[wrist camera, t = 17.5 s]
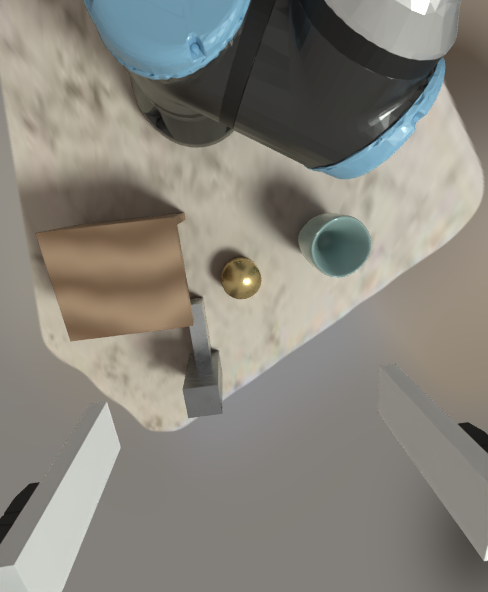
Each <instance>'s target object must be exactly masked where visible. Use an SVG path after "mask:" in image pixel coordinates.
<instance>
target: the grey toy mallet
mask: <svg viewBox="0 0 488 592" xmlns="http://www.w3.org/2000/svg"><path fill="white" fill-rule="evenodd" d="M190 302H191V308H192V313H193V319H194V323H193V326H189V328H190V333H191V339H192V345H193V350H194V354H190V357H189V361H188V366H187V371H186V376H185V381H184V385H183V394H184V399H185V404H186V409H187V414H188V418H193V417H200V416H207V415H215V414H222V369H221V363H220V356H219V351H211V345H210V339H209V332H208V326H207V320H206V313H205V307H204V301H203V297H202V298H194V299H190Z"/></svg>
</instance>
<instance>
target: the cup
mask: <svg viewBox="0 0 488 592" xmlns="http://www.w3.org/2000/svg"><path fill="white" fill-rule="evenodd" d="M298 244H299V248H300V250H301V253H302V254H303V256H304V257H305V259H306V260H307V261H308V262H309V263H310V264H311V265H312V266H314V267H315V268H316V269H317V270H319V271H320V272H322V273H323V274H325V275H327V276H330V277H335V278H340V277H345V276H348V275H350V274H352V273H354V272H355V271H357V270H358V269H359V268H360V267H361V266H362V265H363V264H364V263H365V261H366V260H367V258H368V256H369V254H370V251H371V237H370V234H369V232H368V230H367V228H366V227H365V226H364V225H363V224H362V222H360V221H359V220H358V219H356V218H354V217H352V216H349V215H343V214H337V213H325V214H320V215H317V216H315V217H313V218H312V219H310V220H309V221H308V222H307V223H306V224H305V225H304V226H303V228H302V229H301V231H300V233H299V237H298Z"/></svg>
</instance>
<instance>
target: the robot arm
mask: <svg viewBox="0 0 488 592" xmlns="http://www.w3.org/2000/svg"><path fill="white" fill-rule="evenodd" d="M83 1H84V3H85V6H86V8H87V10H88V13H89V15H90V17H91V19H92V21H93V22H94V24H95V26H96V27H97V29H98V32H99V35H100V37H101V39H102V41H103V43H104V44H105V46H106V48H107V49H108V50H109V51H110V52H111V54H112V55H113V56H114V57H116V58H117V60H118V62H119V63H121V64H122V65H123V66H124V68H125V69H126V70H127V71H128V73H129V74H130V77H131V84H132V88H133V92H134V95H135V98H136V100H137V103H138V105H139V107H140V109H141V111H142V112H143V114H144V115H145V117H146V118H147V120H148V121H149V122H150V123H151V124H152V125H153V126H154V128H155V129H156V130H158V131H159V132H160V133H161V134H162V135H163V136H165V137H166V138H168V139H169V140H171V141H173V142H175V143H177V144H180V145H183V146H188V147H206V146H210V145H213V144H216V143H218V142H220V141H222V140H223V139H225V138H226V137H228V136H229V135H230V134H231V133H232V132H233V131H236V132H238V133H240V134H242V135H245V136H247V137H249V138H251V139H253V140H255V141H257V142H259V143H261V144H263V145H265V146H267V147H269V148H271V149H273V150H275V151H277V152H279V153H281V154H283V155H285V156H287V157H289V158H291V159H293V160H295V161H297V162H299V163H301V164H303V165H304V166H305V167H307V168H308V169H312V170H313V171H321V172H323V173H326V174H328V175H330V176H333V177H335V178H338V179H352V178H356V177H359V176H362V175H364V174H366V173H368V172H370V171H372V170H373V169H375V168H376V167H378V166H379V165H380V164H382V163H383V162H384V161H386V160H387V159H388V158H389V157H390V156H391V155H392V154H394V153H395V152H396V151H397V150H398V149H399V148H400V147H401V146H402V145H403V144H404V143H405V141H406V140H407V139H408V138H409V137H410V136H411V134H412V133H413V132H414V131H415V124H416V122H417V121H418V120H420V119H421V118H422V117H424V116H425V115H426V114H427V113H428V111H429V110H430V108H431V107H432V105H433V103H434V101H435V100H436V98H437V95H438V93H439V91H440V88H441V86H442V83H443V80H444V74H445V62H444V59H443V56H444V55H445V54H446V53H447V52H448V51H449V49H450V48H451V47H452V45H453V44H454V42H455V40H456V36H457V28H458V16H459V7H460V3H461V0H83ZM378 413H379V415H380V416H381V418H383V420H384V422H385V423H386V424H387V426H388V427H389V429H390V430H391V432H392V433H393V434H394V436H395V437H396V439H397V440H398V441H399V443H400V444H401V446H402V447H403V448H404V450H405V451H406V452H407V454H408V455H409V457H410V458H411V460H412V461H413V462H414V464H415V465H416V467H417V468H418V469H419V471H420V472H421V474H422V475H423V476H424V478H425V479H426V481H427V482H428V483H429V485H430V486H431V488H432V489H433V490H434V492H435V493H436V495H437V496H438V497H439V499H440V500H441V501H442V503H443V504H444V505H445V507H446V508H447V510H448V511H449V513H450V514H451V515H452V517H453V518H454V520H455V521H456V522H457V524H458V525H459V526H460V528H461V529H462V531H463V532H464V534H465V535H466V536H467V538H468V539H469V541H470V542H471V543H472V545H473V546H474V548H475V549H476V550H477V552H478V553H479V555H480V556H481V557H482V559H483V560H484V561H487V560H488V435H487V434H486V433H485V432H484V431H482V430H481V429H479V428H477V427H475V426H473V425H472V424H470V423H468V422H467V423H459V424H457V423H456V422H455V421H454V420H453V419H452V418H451V417H450V416H448V414H446V413H445V412H444V411H443V410H442V409H441V408H440V407H439V406H438V405H437V404H436V403H435V402H434V401H433V400H432V399H431V398H430V397H429V396H428V395H427V394H426V393H425V392H424V391H423V390H422V389H421V388H420V387H419V386H418V385H417V384H416V383H415V382H414V381H413V380H412V379H411V378H409V377H408V376H407V375H406V374H405V373H404V372H403V371H402V370H401V369H400V368H399V367H398V366H397V365H396V364H388V365H381V366H380V370H379V394H378ZM120 448H121V447H120V443H119V440H118V437H117V433H116V430H115V427H114V424H113V421H112V417H111V414H110V411H109V407H108V404H107V402H99V403H92V404H90V405H89V407H88V408H87V410H86V411H85V413H84V415H83V416H82V418H81V419H80V421H79V423H78V424H77V425H76V427H75V429H74V430H73V432H72V434H71V435H70V436H69V438H68V439H67V441H66V443H65V444H64V446H63V448H62V449H61V450H60V452H59V454H58V455H57V457H56V458H55V460H54V461H53V463H52V465H51V466H50V468H49V469H48V471H47V472H46V474H45V476H44V477H43V479H42V480H41V482H38V483H31V484H29V485H28V486H27V487H26V488H25V489H23V490H22V491H21V492H20V493H19V494H18V495H17V496H16V497H15V498H14V500H13V501H12V503H11V504H10V506H9V507H8V508H7V510H6V511H5V513H4V516H2V517H1V518H0V592H62V590H63V587H64V585H65V582H66V580H67V578H68V575H69V573H70V570H71V568H72V565H73V563H74V560H75V558H76V555H77V553H78V551H79V548H80V546H81V543H82V540H83V538H84V536H85V533H86V531H87V528H88V526H89V524H90V521H91V519H92V516H93V514H94V511H95V509H96V506H97V504H98V502H99V499H100V497H101V494H102V492H103V489H104V487H105V484H106V482H107V480H108V477H109V474H110V472H111V469H112V467H113V465H114V462H115V460H116V457H117V455H118V453H119V450H120Z"/></svg>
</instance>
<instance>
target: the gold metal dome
mask: <svg viewBox="0 0 488 592" xmlns="http://www.w3.org/2000/svg"><path fill="white" fill-rule="evenodd" d="M260 285H261V275H260V272H259V270H258V268H257V266H256V265H255V263H254V262H253V261H251V260H250V259H247V258H244V257H238V258H234V259H232V260H230V261H229V262H227V264H226V265H225V266H224V268H223V271H222V286H223V288H224V290H225V292H226V293H227V294H228V295H230V296H231V297H233V298H236V299H246V298H249V297H251V296H253V295H254V294H255V293H256V292H257V291H258V289H259V287H260Z"/></svg>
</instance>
